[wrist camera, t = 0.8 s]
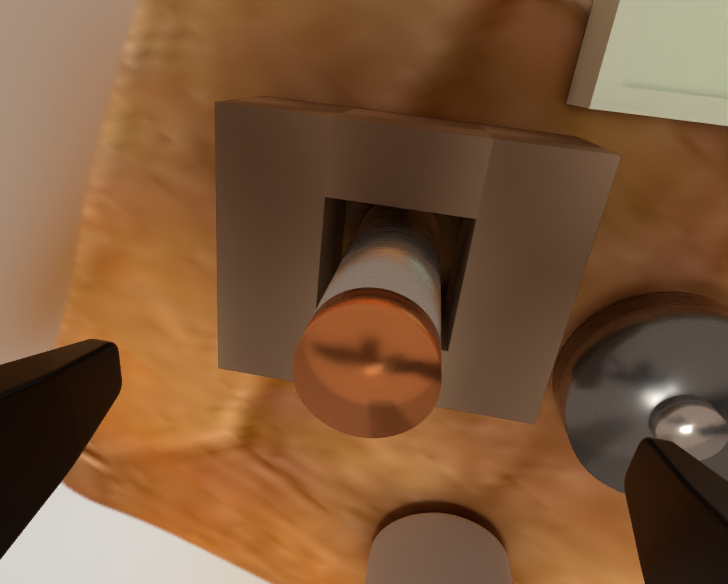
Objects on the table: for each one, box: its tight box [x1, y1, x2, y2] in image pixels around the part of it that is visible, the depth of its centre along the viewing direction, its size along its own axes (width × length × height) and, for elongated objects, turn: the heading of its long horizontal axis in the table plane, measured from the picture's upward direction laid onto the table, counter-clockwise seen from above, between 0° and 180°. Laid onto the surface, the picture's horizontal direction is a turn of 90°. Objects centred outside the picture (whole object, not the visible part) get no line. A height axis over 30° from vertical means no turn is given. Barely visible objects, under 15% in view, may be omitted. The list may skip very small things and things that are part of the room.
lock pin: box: [292, 204, 442, 438], centre depth 13 cm, size 3×3×9 cm
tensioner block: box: [215, 96, 621, 424], centre depth 15 cm, size 10×8×4 cm
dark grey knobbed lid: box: [553, 292, 728, 493], centre depth 17 cm, size 7×7×3 cm
